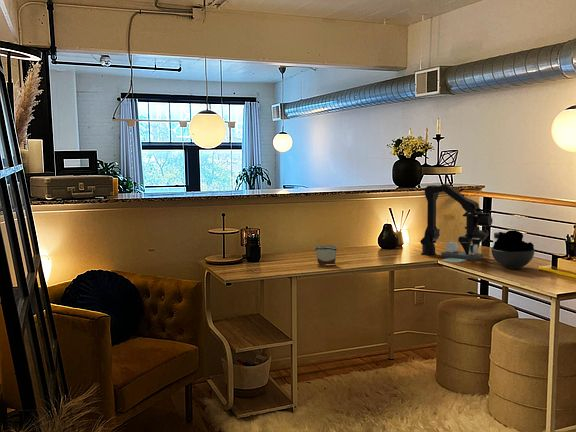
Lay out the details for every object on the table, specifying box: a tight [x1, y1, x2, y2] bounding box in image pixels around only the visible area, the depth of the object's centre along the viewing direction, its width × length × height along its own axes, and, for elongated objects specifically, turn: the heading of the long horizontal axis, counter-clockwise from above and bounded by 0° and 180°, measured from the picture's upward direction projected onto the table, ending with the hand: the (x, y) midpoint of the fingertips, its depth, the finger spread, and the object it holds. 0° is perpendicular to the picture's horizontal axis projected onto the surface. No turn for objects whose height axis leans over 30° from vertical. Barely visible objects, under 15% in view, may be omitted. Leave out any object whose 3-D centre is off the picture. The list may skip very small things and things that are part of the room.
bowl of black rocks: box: [490, 229, 536, 270], centre depth 278 cm, size 20×20×19 cm
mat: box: [441, 258, 467, 264], centre depth 304 cm, size 10×8×1 cm
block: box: [445, 241, 459, 253], centre depth 315 cm, size 4×4×8 cm
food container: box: [314, 244, 338, 265], centre depth 304 cm, size 12×6×10 cm, turn 71°
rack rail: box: [440, 250, 484, 262], centre depth 311 cm, size 20×10×2 cm, turn 43°
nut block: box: [468, 243, 479, 256], centre depth 307 cm, size 4×4×8 cm
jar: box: [492, 231, 506, 247], centre depth 317 cm, size 9×8×12 cm
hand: (471, 253), depth 307 cm, fingers open, 9 cm apart
